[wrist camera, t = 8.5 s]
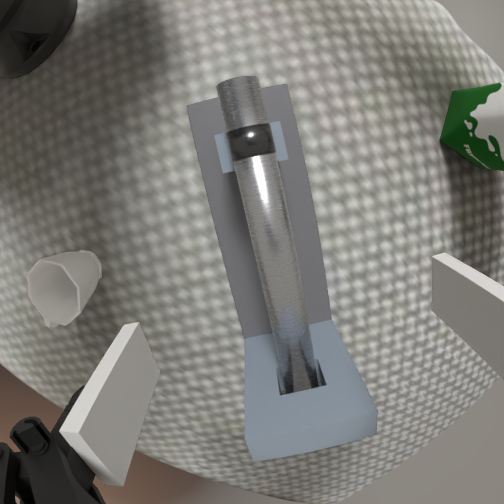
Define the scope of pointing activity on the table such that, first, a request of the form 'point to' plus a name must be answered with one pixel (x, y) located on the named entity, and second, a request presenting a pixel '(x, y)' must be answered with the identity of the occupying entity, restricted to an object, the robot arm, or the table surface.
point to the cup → (63, 285)
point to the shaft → (269, 227)
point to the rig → (254, 306)
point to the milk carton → (477, 125)
